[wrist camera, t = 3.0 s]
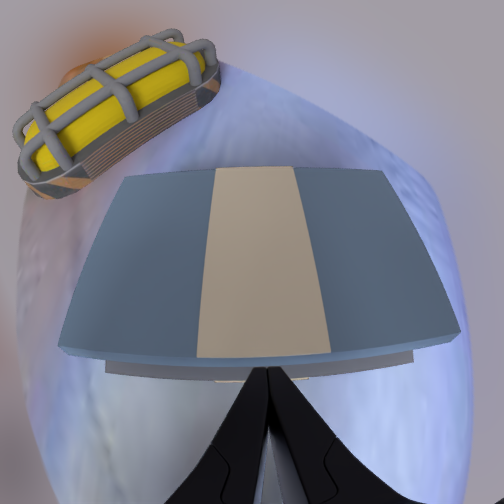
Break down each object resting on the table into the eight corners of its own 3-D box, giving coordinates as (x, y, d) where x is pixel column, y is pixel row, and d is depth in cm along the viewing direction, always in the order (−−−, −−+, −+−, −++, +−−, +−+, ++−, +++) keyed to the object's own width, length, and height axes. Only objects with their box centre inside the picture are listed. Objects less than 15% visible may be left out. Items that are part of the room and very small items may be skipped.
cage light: (-4, 127, 24) (176, 18, 32) (23, 162, 32) (183, 58, 40) (6, 183, 20) (241, 38, 28) (45, 223, 27) (243, 87, 35)
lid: (450, 341, 11) (462, 330, 10) (68, 354, 11) (56, 344, 10) (378, 182, 20) (382, 169, 19) (128, 188, 20) (124, 175, 19)
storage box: (372, 369, 21) (413, 363, 15) (145, 377, 21) (105, 374, 14) (352, 227, 26) (378, 182, 20) (155, 233, 26) (129, 189, 20)
